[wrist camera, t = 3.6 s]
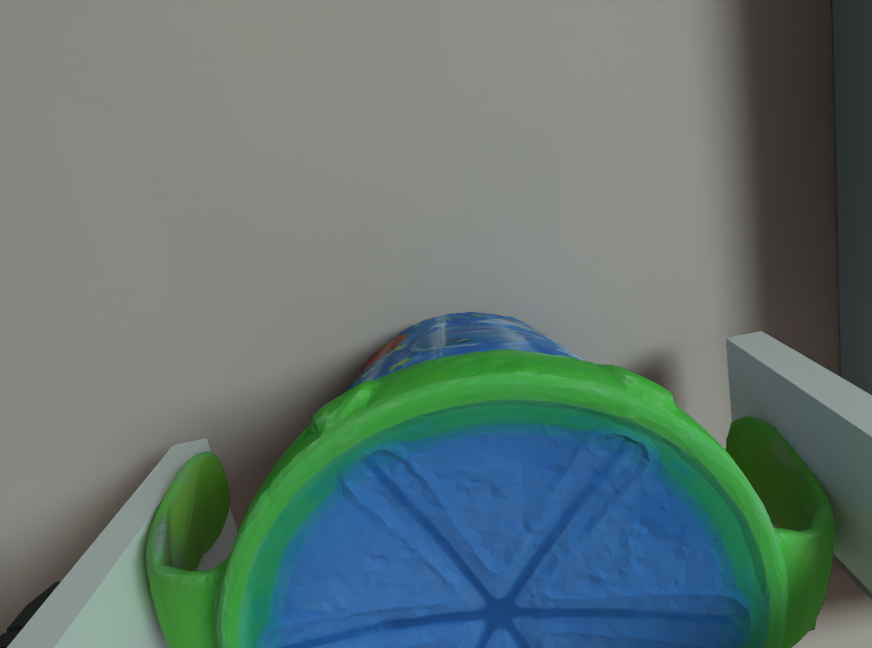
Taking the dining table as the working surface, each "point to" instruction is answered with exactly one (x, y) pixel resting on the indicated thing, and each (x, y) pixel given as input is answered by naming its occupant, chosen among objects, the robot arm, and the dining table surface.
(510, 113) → the dining table surface
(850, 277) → the tray
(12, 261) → the dining table surface
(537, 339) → the snack cup
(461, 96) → the dining table surface
